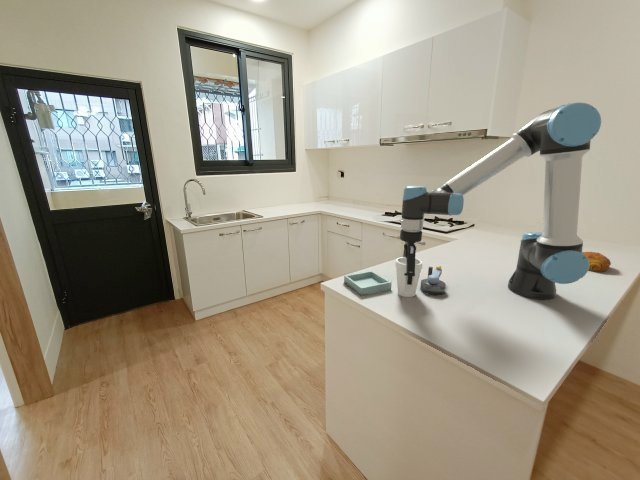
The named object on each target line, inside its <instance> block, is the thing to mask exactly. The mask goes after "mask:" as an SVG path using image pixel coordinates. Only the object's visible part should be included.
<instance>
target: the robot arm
mask: <svg viewBox="0 0 640 480" xmlns="http://www.w3.org/2000/svg"><path fill="white" fill-rule="evenodd" d="M601 116H602V115H600V112H599V110H598V109H597V108H596V107H594V106H593V105H592V104H589V103H586V102H571V103H565V104H563V105H560V106H558V107H555V108H552V109H548V110H546V111H543V112H542V113H540V114H539V115H537V116H535V117H534V118H533V119H531V120H530V121H529V122H528V123H527V124H525V125H523V126H522V127H521V128H520V129H518V130H517V131H516V132H514V133H512V134H511V137H510V139H509V140H507V141H506V142H504V143H503V144H501V145H500V146H499V147H496V148H495V149H494V150H493V151H491V152H489V153H488V154H486V155H485V156H483V157H482V158H481V159H479V160H478V161H475V162H474V163H473V164H472V165H471V166H468V167H467V168H466V169H464V170H462V171H461V172H459V173H458V174H457V175H455V176H454V177H452V178H451V179H449V180H448V181H447V182H445V183H444V184H442V185H441V186H439V187H435V188H434V189H432V190H431V191H430V192H429V191H427V187H426V186H422V185H407V186H405V187H404V188H403V189H404V190H403V197H402V203H401V204H402V207H401V220H399V223H400V228H401V229H400V233H399V240H400V241H402V242H404V243H403V254H402V257H406V258H407V266H406V273H404V275H405V276H406V277H405V289H404V292H409V293H412V291H413V280H414V276H415V258H416V251H417V246H416V244H415V243H420V242H422V240H423V231H422V230H423V227H424V220H425V218H424V217H425V215H439V216H440V215H442V216H460V215H461V214H462V213H463V209H464V203H465V201H464V200H465V199H464V196H465V195H466V194H467V193H469V192H470V191H472V190H474V189H475V188H477V187H478V186H480V185H482V184H483V183H485V182H487V181H488V180H490V179H491V178H492V177H494V176H496V175H497V174H500V172H502V171H504V170H505V169H507V168H508V167H510V166H511V165H513V164H516V162H518V161H519V160H521V159H523V158H524V157H527V158H529V157H531V156H532V155H535V154H536V153H538V152H539V156H540V157H541V158H543V159H544V161H545V165H544V166H545V167H544V169H545V170H544V173H545V174H544V191H543V217H542V221H543V222H542V232H537V231H528V232H527V231H526V232H524V233H523V234H522V237H521V239H520V245H519V251H518V256H517V262H516V269H515V271H514V272H513V273H512V274H511V276H510V278H509V280H508V284H507V288H508V290H510V291H511V292H513V293H514V294H517V295H520V296H522V297H525V298H531V299H535V300H536V299H537V300H552V299H555V297H556V295H557V286H556V284H559V285H560V284H561V285H567V284H573V283H576V282H578V281H579V280H580V279H583V277H585V276H586V274H587V273H588V271H590V270H589V261H588V259H587V257H586V256H585V255H584V254H583V253H582V252H583V246H584V241H583V239H582V238H580V236H578V225H579V223H578V222H579V209H580V194H581V181H582V180H581V178H582V167H583V157H584V156H585V155H586V154H587V153H588V152H589V151H590V150H591V141H592V139H593V138H594V137H595V136H596V135H598V133H599V131H600V128H601V126H602V117H601Z"/></svg>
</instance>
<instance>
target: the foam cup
mask: <svg viewBox="0 0 640 480" xmlns="http://www.w3.org/2000/svg"><path fill="white" fill-rule="evenodd" d="M406 266H407V258H406V257H403V256H401V257H397V258H396V259H395V269H396V271H395V272H396V283H397V284H396V285H397V294H398V295H399V296H402V297H405V298H412V297H414V296H415V295H416V291H417V289H418V288H417V287H418V284H419V280H420V276H421V272H422V269H423V261H422V260H421V259H419V258H416V257H415V276H414V280H413V291H412V293H409V292H404V289H405V277H406V276H405V275H404V273H406Z"/></svg>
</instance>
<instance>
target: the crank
mask: <svg viewBox="0 0 640 480" xmlns="http://www.w3.org/2000/svg"><path fill="white" fill-rule="evenodd" d="M433 270H434V271H432V275H429V276H428V275H427V279H428V283H430V284H439V280H440V278H441V275H442V273H443V268H442V266H441V265H436V266H435V268H434V269H433Z"/></svg>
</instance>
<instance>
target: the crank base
mask: <svg viewBox="0 0 640 480" xmlns="http://www.w3.org/2000/svg"><path fill="white" fill-rule="evenodd" d="M433 270H434V269H433V266H428V269H427V271H428V272H427V277H428V276H429V275H432V273H433V272H434V271H433ZM420 291H421V292H423V294H427V295H430V296H442V295H445V293H446V283H445V282H444V281H443V280H440V279H439V284H430V283H428V278H423V279H421V281H420Z"/></svg>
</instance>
